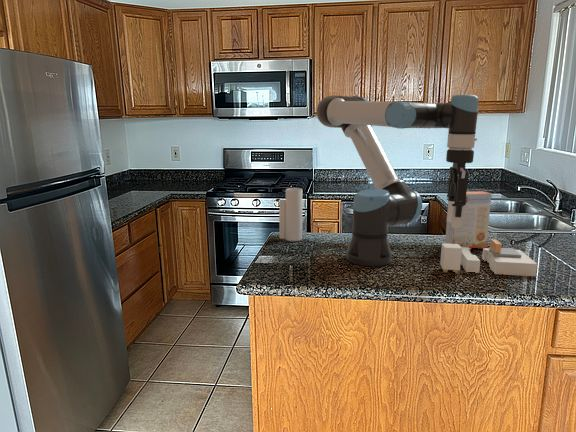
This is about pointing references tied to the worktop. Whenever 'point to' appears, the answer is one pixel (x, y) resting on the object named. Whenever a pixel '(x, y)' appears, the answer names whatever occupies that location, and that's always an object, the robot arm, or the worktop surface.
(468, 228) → the cracker box
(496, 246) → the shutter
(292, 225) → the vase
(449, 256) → the plug
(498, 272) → the socket
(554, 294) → the worktop surface
